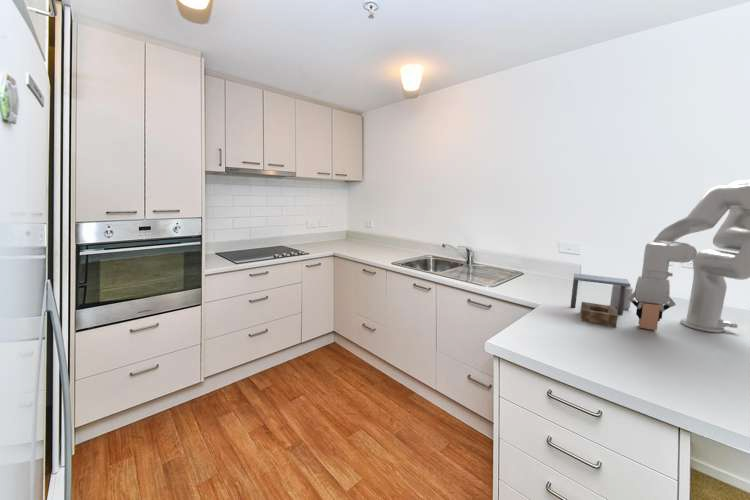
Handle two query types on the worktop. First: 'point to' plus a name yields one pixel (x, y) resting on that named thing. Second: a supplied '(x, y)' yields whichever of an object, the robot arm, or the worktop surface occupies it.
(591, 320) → the socket block
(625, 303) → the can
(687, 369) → the worktop surface
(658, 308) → the peg
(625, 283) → the grey arch frame
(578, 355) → the worktop surface
